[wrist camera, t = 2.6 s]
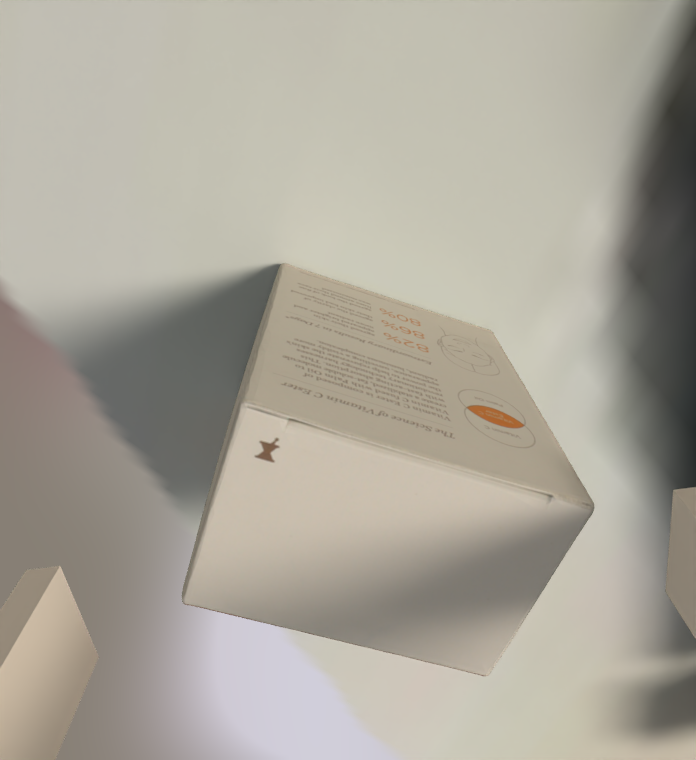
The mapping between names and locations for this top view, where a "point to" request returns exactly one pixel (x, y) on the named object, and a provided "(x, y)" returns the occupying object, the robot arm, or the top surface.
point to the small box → (383, 482)
